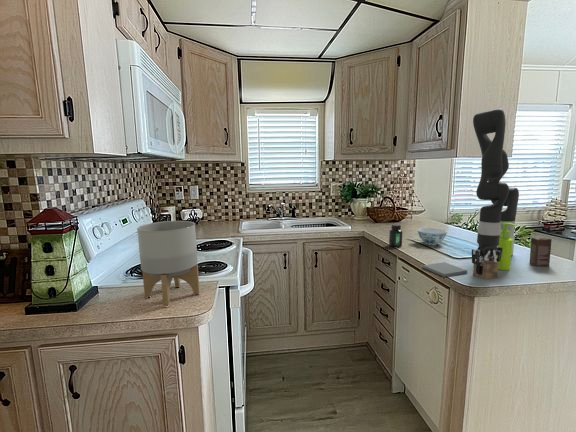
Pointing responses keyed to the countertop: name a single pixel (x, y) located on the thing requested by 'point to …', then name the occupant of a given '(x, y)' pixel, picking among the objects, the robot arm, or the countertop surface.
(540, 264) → the box
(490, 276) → the walnut cube
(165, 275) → the planter
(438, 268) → the slate tile
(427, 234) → the chinaware
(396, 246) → the supplement bottle
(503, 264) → the soap dispenser
